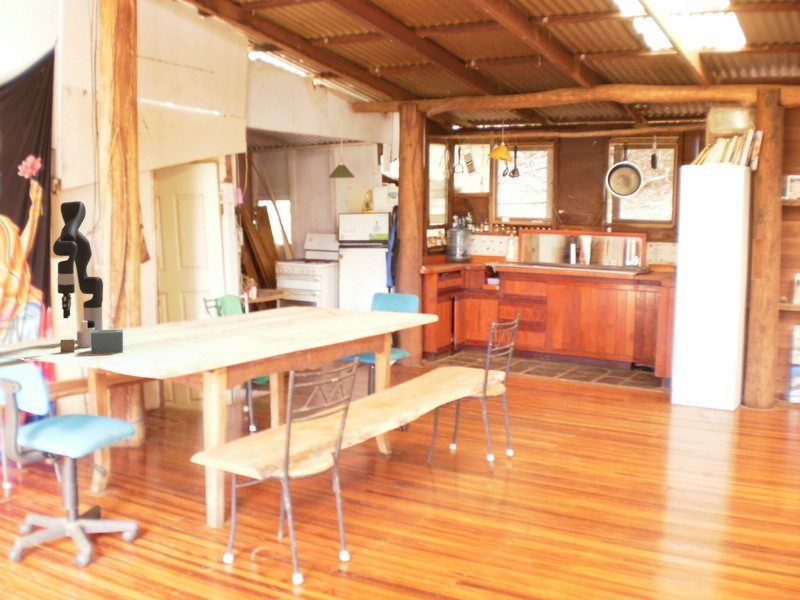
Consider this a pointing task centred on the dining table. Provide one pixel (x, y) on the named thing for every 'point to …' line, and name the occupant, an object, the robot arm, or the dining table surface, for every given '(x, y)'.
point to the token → (67, 345)
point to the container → (85, 333)
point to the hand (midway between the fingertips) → (66, 317)
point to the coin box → (107, 341)
